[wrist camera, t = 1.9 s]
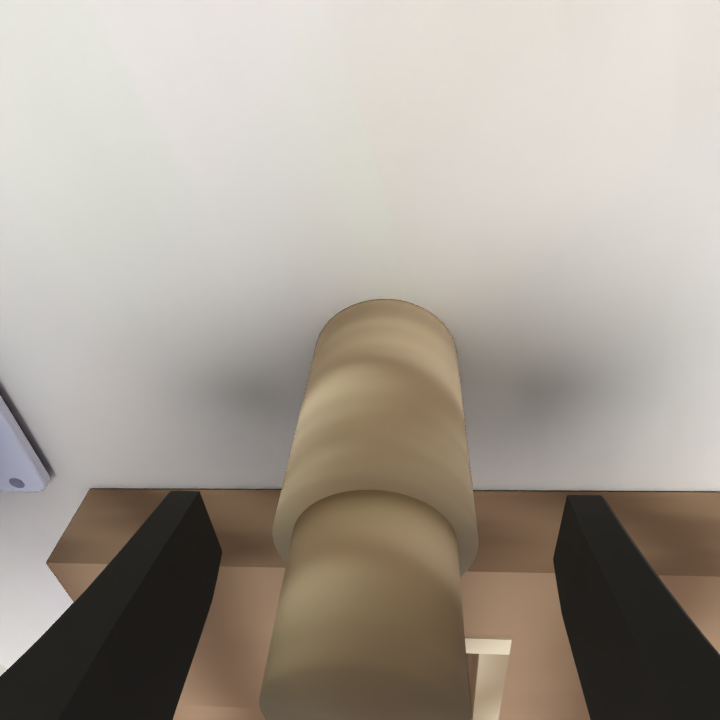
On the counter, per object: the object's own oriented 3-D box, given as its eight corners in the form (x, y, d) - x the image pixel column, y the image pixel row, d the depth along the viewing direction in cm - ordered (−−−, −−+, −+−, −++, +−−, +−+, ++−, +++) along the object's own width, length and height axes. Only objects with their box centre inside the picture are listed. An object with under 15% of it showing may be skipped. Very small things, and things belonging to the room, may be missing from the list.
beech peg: (323, 414, 17) (259, 758, 10) (306, 301, 15) (203, 644, 7) (455, 412, 16) (490, 770, 9) (458, 297, 14) (510, 656, 7)
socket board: (195, 679, 29) (175, 747, 26) (89, 489, 20) (44, 565, 17) (635, 698, 26) (658, 775, 24) (737, 492, 18) (791, 581, 15)
